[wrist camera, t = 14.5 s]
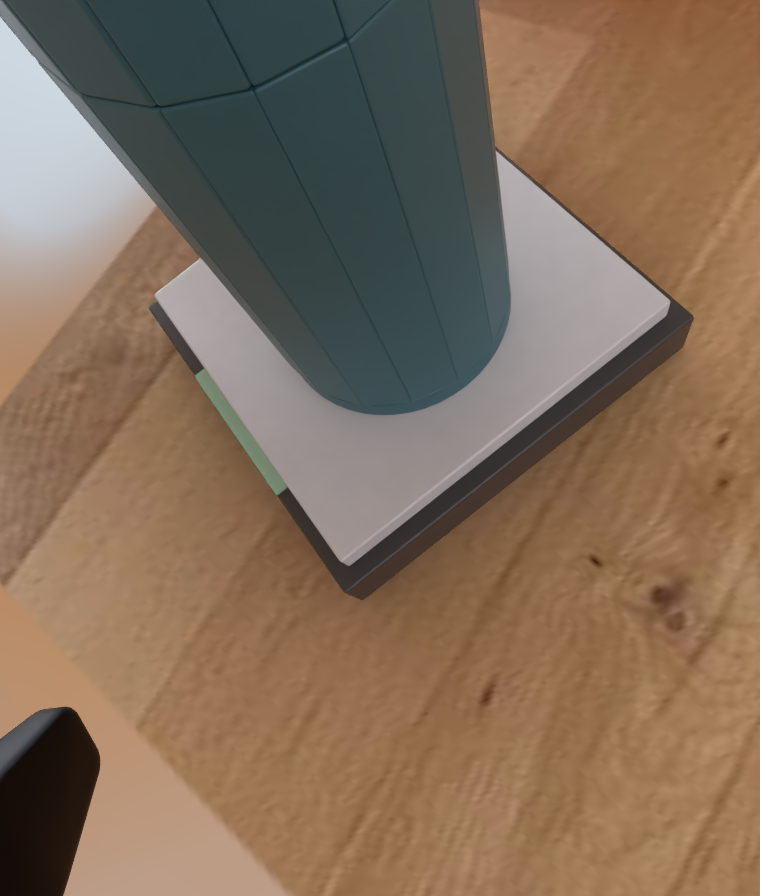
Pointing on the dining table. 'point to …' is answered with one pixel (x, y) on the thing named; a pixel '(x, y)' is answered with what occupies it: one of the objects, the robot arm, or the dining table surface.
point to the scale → (446, 423)
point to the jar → (311, 170)
